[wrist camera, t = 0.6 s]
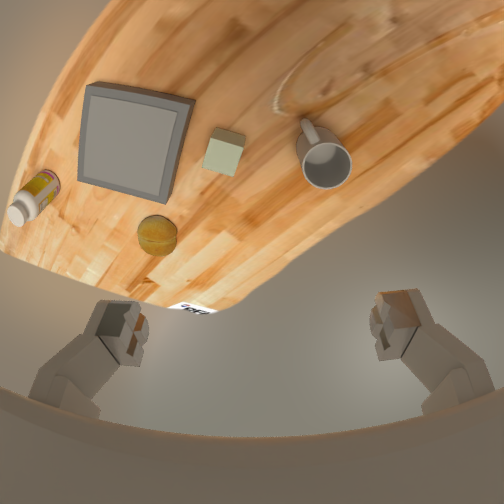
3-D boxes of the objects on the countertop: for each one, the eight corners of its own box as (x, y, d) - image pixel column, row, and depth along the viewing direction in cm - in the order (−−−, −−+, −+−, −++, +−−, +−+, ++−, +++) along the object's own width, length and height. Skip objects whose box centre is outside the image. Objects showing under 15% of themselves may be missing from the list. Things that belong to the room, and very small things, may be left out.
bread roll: (178, 216, 56) (173, 228, 53) (176, 251, 61) (172, 264, 58) (138, 210, 55) (131, 222, 52) (140, 245, 61) (134, 257, 57)
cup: (307, 172, 49) (315, 196, 42) (279, 123, 44) (283, 139, 37) (344, 155, 47) (359, 177, 40) (319, 104, 41) (332, 116, 34)
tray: (97, 81, 38) (85, 85, 35) (195, 100, 41) (189, 105, 38) (87, 171, 49) (76, 181, 46) (171, 193, 52) (165, 205, 49)
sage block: (216, 127, 44) (210, 137, 40) (245, 136, 45) (243, 147, 41) (208, 153, 47) (201, 167, 43) (236, 162, 48) (233, 176, 44)
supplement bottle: (34, 172, 48) (-1, 204, 38) (54, 166, 48) (18, 198, 38) (45, 198, 52) (13, 232, 42) (65, 193, 52) (32, 229, 42)
